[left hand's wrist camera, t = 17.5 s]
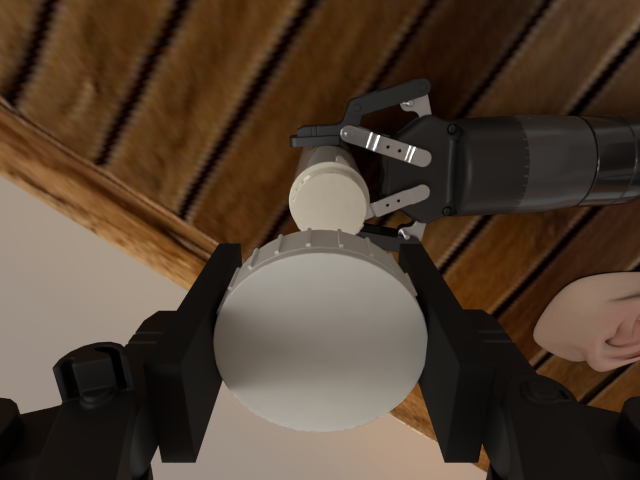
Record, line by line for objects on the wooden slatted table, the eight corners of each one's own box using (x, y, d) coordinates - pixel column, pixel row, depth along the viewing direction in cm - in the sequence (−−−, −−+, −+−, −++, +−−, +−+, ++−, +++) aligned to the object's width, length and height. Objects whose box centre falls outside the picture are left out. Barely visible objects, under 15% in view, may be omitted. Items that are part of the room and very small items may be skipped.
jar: (290, 167, 38) (271, 220, 23) (319, 123, 36) (318, 149, 22) (332, 196, 39) (340, 263, 24) (362, 153, 37) (390, 198, 23)
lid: (447, 344, 13) (466, 382, 11) (290, 417, 14) (286, 461, 12) (359, 188, 11) (366, 206, 9) (185, 286, 12) (164, 319, 10)
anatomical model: (542, 380, 42) (577, 282, 37) (524, 356, 45) (554, 264, 41) (666, 389, 42) (714, 293, 38) (638, 364, 46) (679, 274, 42)
